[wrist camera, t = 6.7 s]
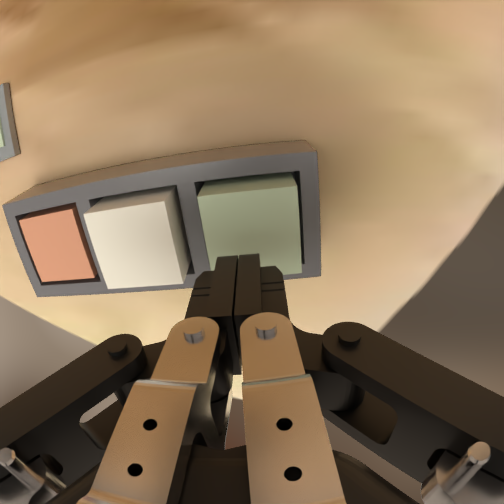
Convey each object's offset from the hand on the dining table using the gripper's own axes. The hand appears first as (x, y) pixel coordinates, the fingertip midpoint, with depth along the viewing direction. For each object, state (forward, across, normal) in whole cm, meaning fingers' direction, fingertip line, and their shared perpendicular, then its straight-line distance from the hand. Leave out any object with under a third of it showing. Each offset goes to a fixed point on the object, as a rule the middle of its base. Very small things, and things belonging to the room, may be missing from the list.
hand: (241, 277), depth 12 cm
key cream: (+5, +5, 0) cm, 7 cm away
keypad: (+7, +5, 0) cm, 9 cm away
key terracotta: (+6, +10, 0) cm, 12 cm away
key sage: (+5, 0, -1) cm, 5 cm away
